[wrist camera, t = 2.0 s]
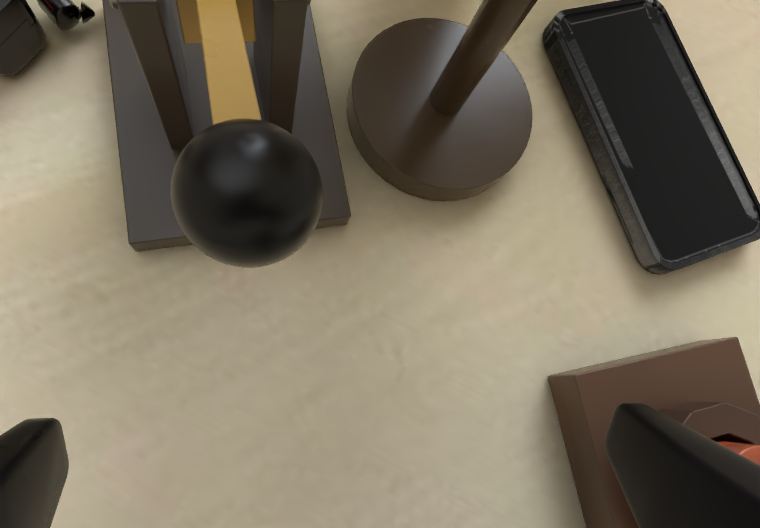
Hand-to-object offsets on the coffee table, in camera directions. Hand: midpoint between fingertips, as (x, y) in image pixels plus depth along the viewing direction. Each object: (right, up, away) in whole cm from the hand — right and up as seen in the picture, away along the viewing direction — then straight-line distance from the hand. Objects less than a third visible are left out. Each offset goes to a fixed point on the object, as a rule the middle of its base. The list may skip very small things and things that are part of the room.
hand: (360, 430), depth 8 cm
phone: (+15, +10, +20) cm, 27 cm away
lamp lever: (-4, +7, +6) cm, 10 cm away
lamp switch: (-7, +10, +15) cm, 19 cm away
